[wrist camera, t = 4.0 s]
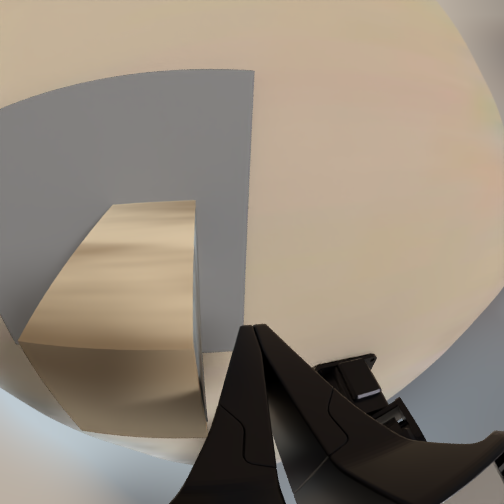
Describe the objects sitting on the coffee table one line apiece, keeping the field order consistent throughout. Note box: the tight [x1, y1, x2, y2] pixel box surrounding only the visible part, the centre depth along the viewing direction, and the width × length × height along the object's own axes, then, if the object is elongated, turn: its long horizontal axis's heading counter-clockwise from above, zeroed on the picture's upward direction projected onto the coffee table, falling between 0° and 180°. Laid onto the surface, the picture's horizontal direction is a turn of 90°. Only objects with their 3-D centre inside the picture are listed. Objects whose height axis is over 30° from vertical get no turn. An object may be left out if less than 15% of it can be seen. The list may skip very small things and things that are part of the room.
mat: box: [0, 69, 254, 353], centre depth 14 cm, size 18×20×1 cm
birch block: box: [18, 200, 208, 438], centre depth 10 cm, size 4×5×10 cm
